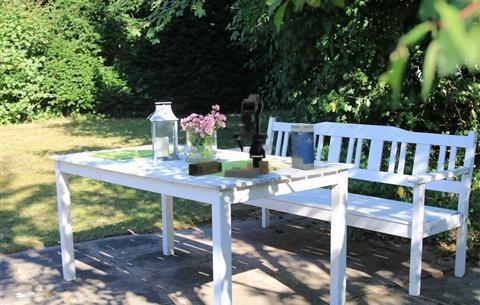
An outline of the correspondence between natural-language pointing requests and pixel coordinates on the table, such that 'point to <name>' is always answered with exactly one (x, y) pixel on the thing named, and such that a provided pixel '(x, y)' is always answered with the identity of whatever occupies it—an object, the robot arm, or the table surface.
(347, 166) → the table surface
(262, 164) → the plug
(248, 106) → the robot arm
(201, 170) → the beverage carton
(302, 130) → the string lights box
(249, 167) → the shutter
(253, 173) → the socket block
